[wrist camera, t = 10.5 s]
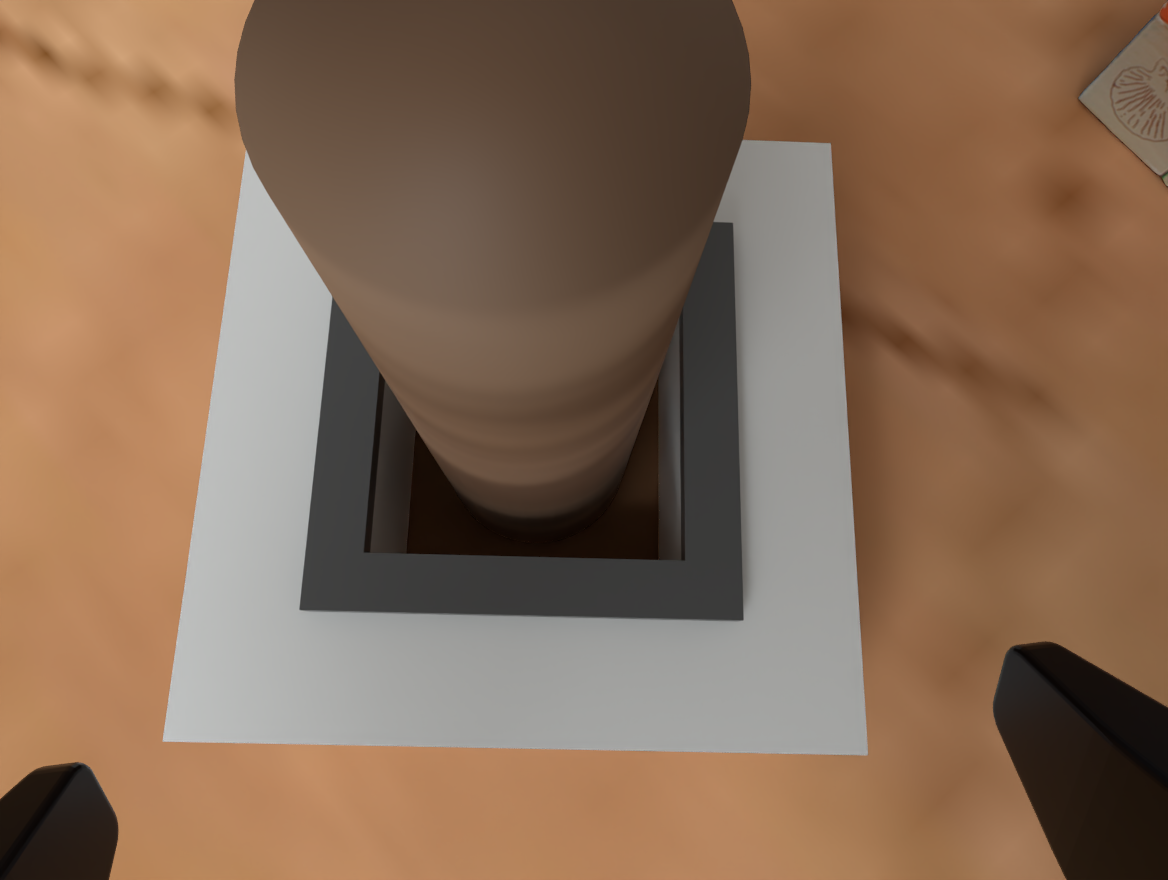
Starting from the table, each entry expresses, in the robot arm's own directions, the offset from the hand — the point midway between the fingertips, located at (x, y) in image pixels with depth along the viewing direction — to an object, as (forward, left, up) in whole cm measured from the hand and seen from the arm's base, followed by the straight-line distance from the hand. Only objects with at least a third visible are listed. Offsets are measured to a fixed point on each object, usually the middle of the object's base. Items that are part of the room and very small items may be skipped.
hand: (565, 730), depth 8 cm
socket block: (+5, +1, -10) cm, 11 cm away
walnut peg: (+5, +1, -10) cm, 11 cm away
